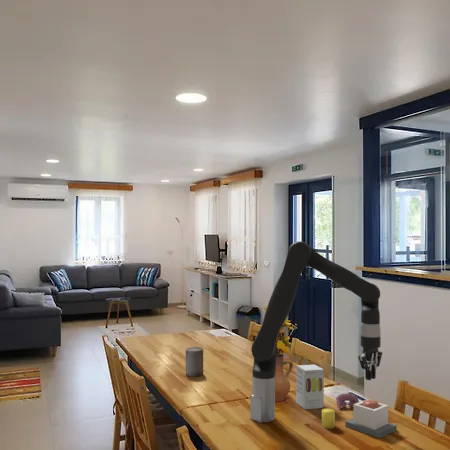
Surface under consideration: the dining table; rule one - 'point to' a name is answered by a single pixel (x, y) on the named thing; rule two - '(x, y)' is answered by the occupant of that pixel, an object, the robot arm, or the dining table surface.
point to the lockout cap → (328, 418)
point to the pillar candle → (194, 361)
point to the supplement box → (310, 386)
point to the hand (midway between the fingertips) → (370, 378)
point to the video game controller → (346, 397)
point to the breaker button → (370, 404)
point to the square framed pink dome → (371, 420)
